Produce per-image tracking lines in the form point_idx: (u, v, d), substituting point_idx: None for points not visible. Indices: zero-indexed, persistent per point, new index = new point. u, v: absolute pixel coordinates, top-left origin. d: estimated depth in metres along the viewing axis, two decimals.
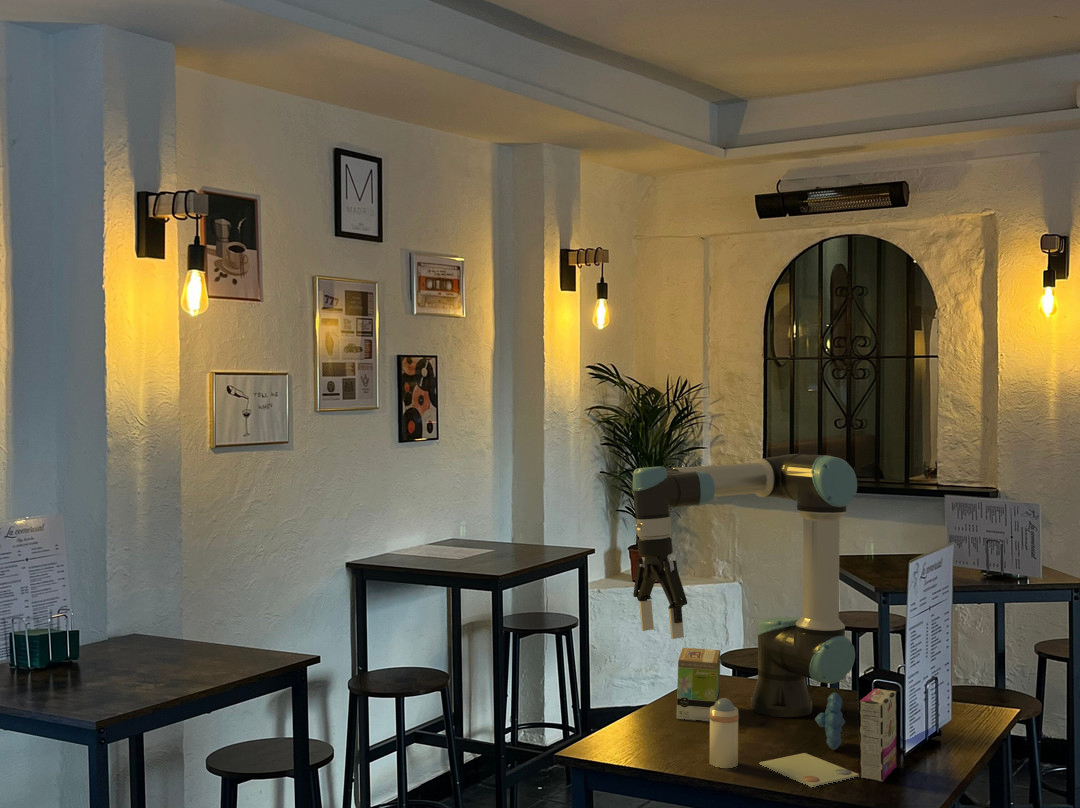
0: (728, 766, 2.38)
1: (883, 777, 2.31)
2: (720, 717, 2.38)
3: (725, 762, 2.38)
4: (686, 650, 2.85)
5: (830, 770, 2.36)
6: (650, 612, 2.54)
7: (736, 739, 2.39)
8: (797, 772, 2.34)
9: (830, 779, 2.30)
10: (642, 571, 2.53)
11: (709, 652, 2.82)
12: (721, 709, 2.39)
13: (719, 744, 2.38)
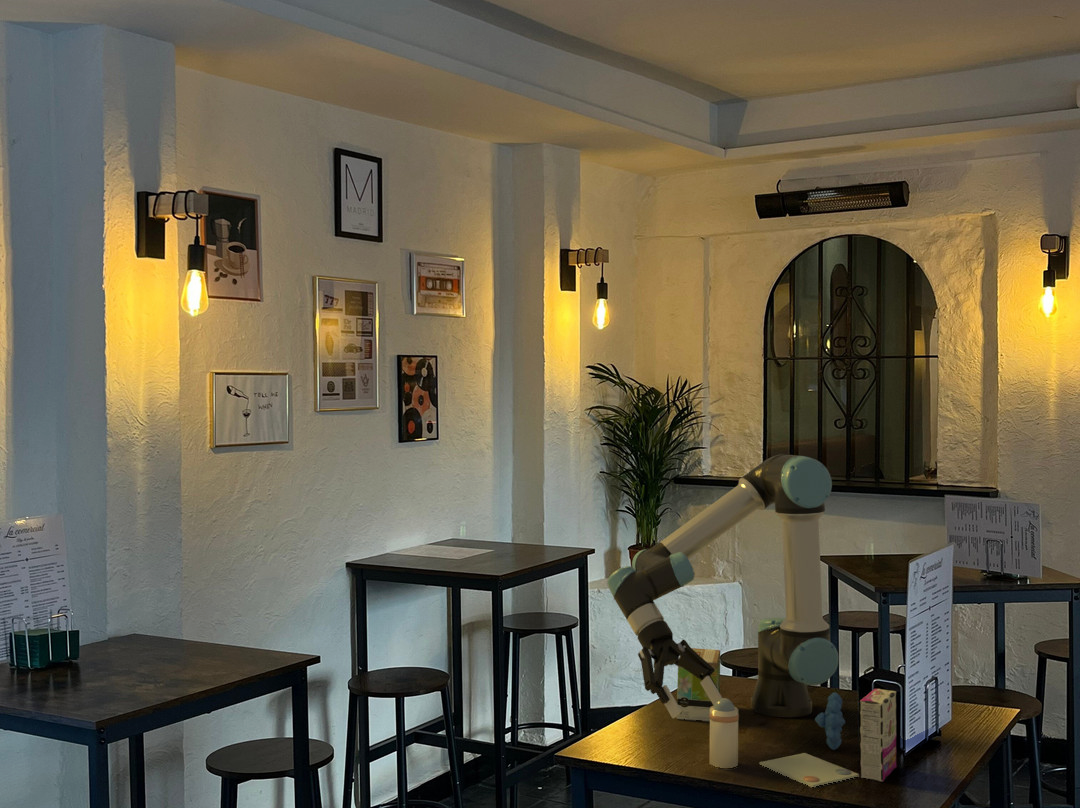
0: (728, 766, 2.38)
1: (883, 777, 2.31)
2: (720, 717, 2.38)
3: (725, 762, 2.38)
4: None
5: (830, 770, 2.36)
6: (711, 687, 2.51)
7: (736, 739, 2.39)
8: (797, 772, 2.34)
9: (830, 779, 2.30)
10: (685, 655, 2.56)
11: (709, 652, 2.82)
12: (721, 709, 2.39)
13: (719, 744, 2.38)
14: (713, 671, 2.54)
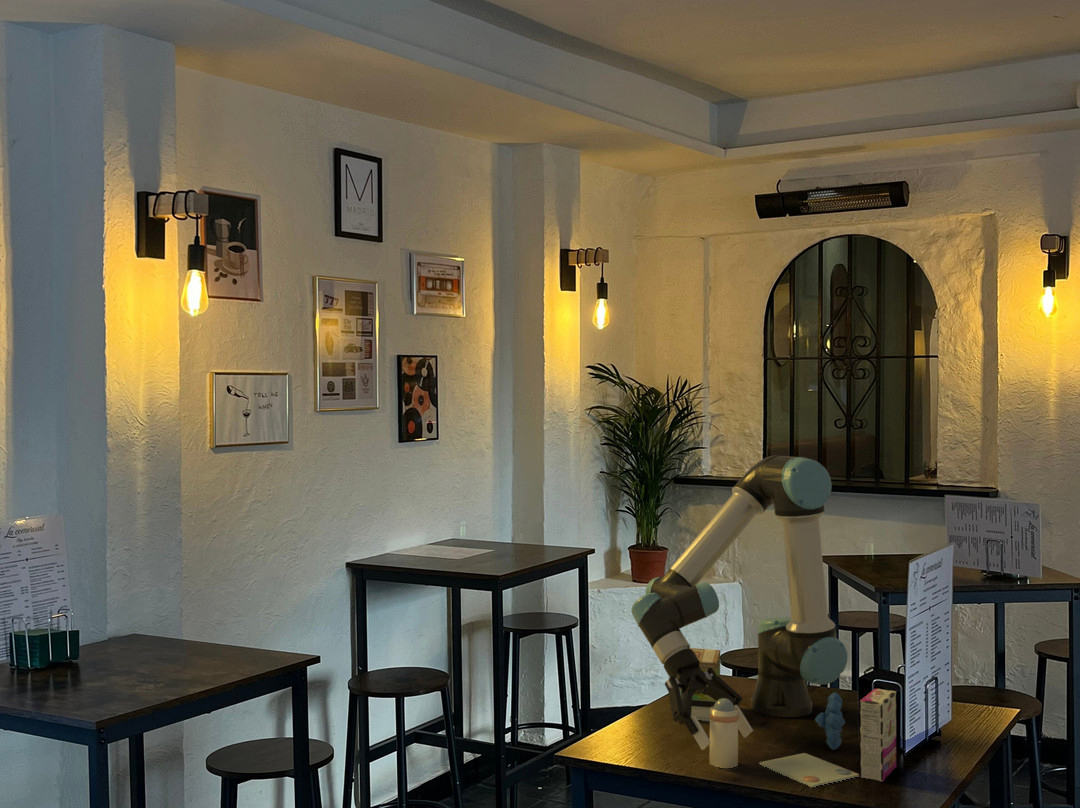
0: (728, 766, 2.38)
1: (883, 777, 2.31)
2: (720, 717, 2.38)
3: (725, 762, 2.38)
4: None
5: (830, 770, 2.36)
6: (740, 716, 2.45)
7: (736, 739, 2.39)
8: (797, 772, 2.34)
9: (830, 779, 2.30)
10: None
11: (709, 652, 2.82)
12: (721, 709, 2.39)
13: (719, 744, 2.38)
14: (741, 700, 2.49)
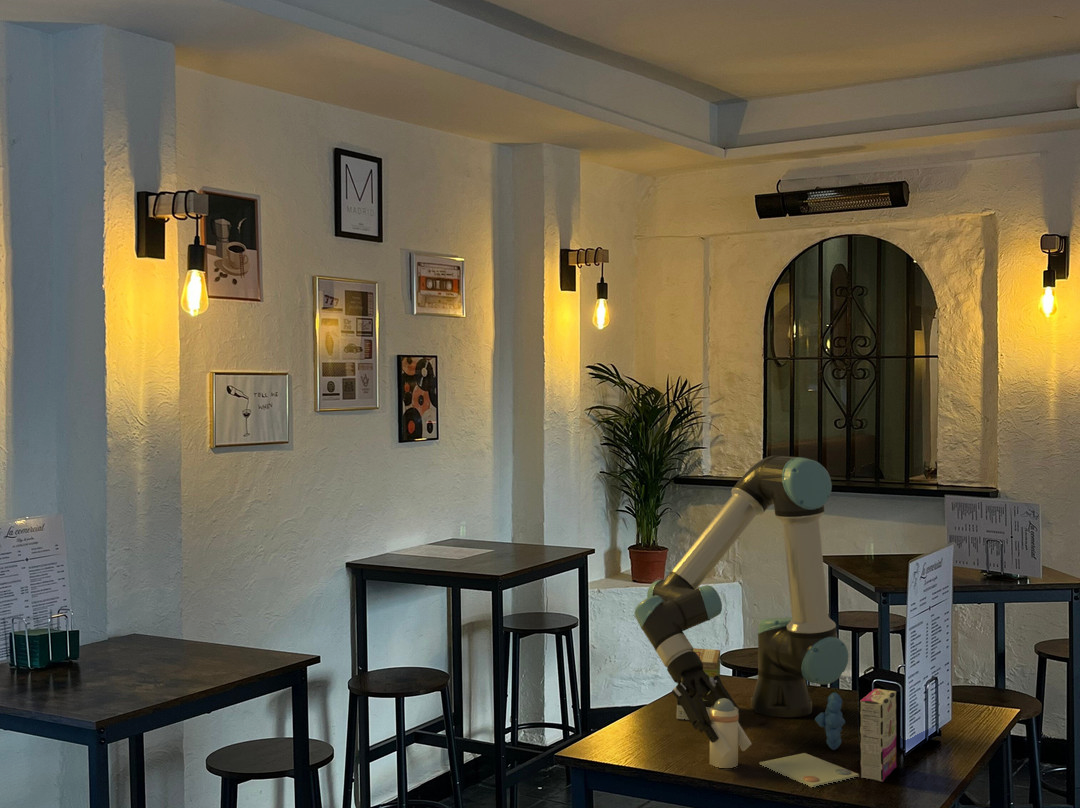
0: (728, 766, 2.38)
1: (883, 777, 2.31)
2: (720, 717, 2.38)
3: (725, 762, 2.38)
4: None
5: (830, 770, 2.36)
6: (738, 730, 2.42)
7: (736, 739, 2.39)
8: (797, 772, 2.34)
9: (830, 779, 2.30)
10: (715, 691, 2.49)
11: (709, 652, 2.82)
12: (721, 709, 2.39)
13: None
14: (739, 712, 2.45)
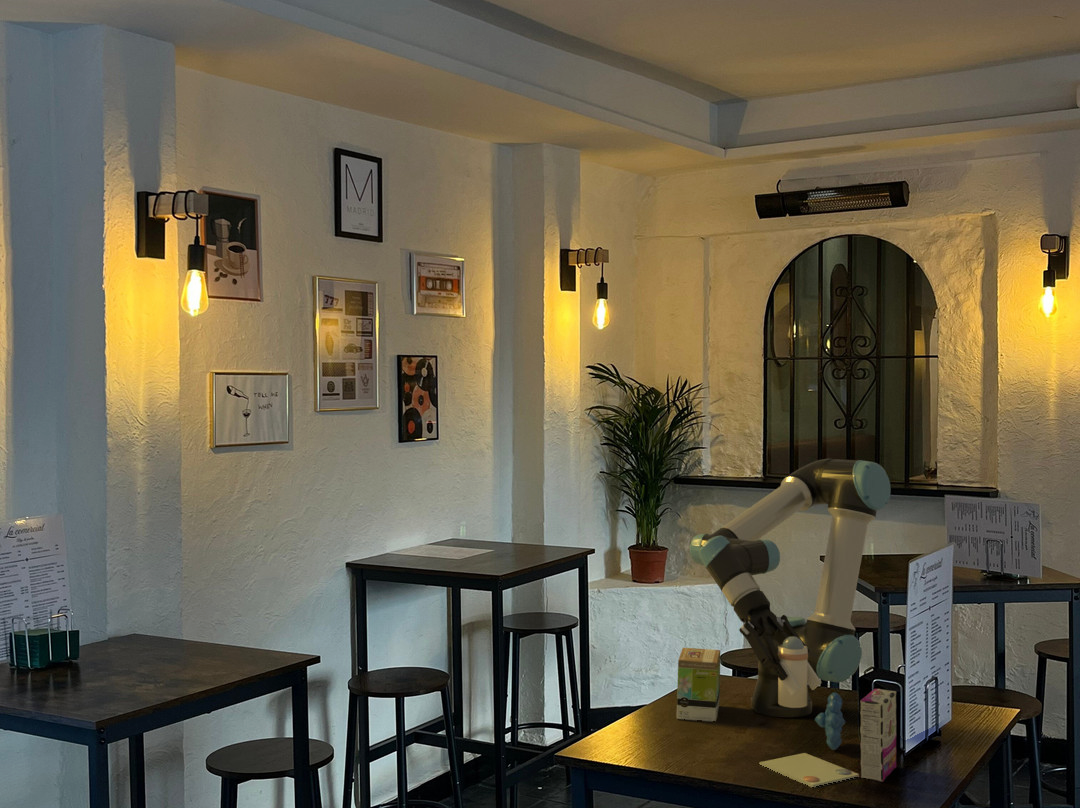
0: (798, 705, 2.34)
1: (883, 777, 2.31)
2: (789, 655, 2.34)
3: (795, 701, 2.34)
4: (686, 650, 2.85)
5: (830, 770, 2.36)
6: (807, 668, 2.38)
7: (805, 677, 2.35)
8: (797, 772, 2.34)
9: (830, 779, 2.30)
10: None
11: (709, 652, 2.82)
12: (790, 647, 2.35)
13: None
14: None
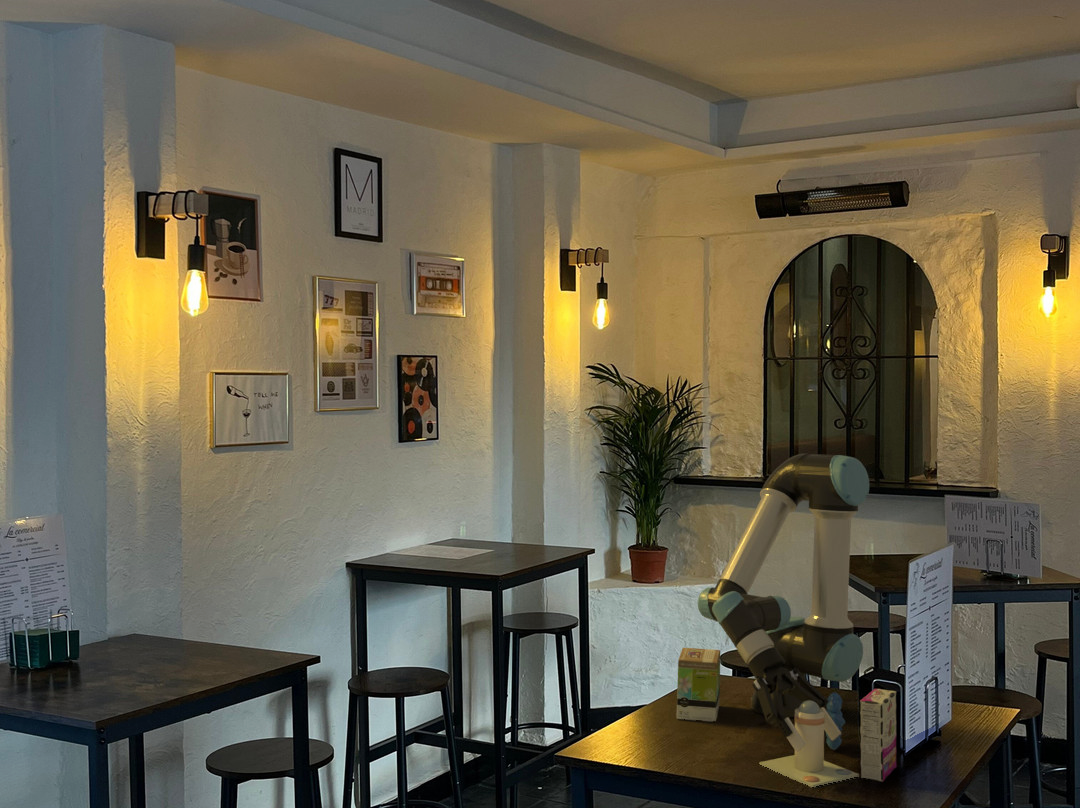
0: (815, 769, 2.35)
1: (883, 777, 2.31)
2: (807, 719, 2.35)
3: (812, 765, 2.35)
4: (686, 650, 2.85)
5: (830, 770, 2.36)
6: (827, 719, 2.40)
7: (822, 742, 2.36)
8: (797, 772, 2.34)
9: (830, 779, 2.30)
10: None
11: (709, 652, 2.82)
12: (807, 711, 2.35)
13: (805, 747, 2.35)
14: (827, 702, 2.44)
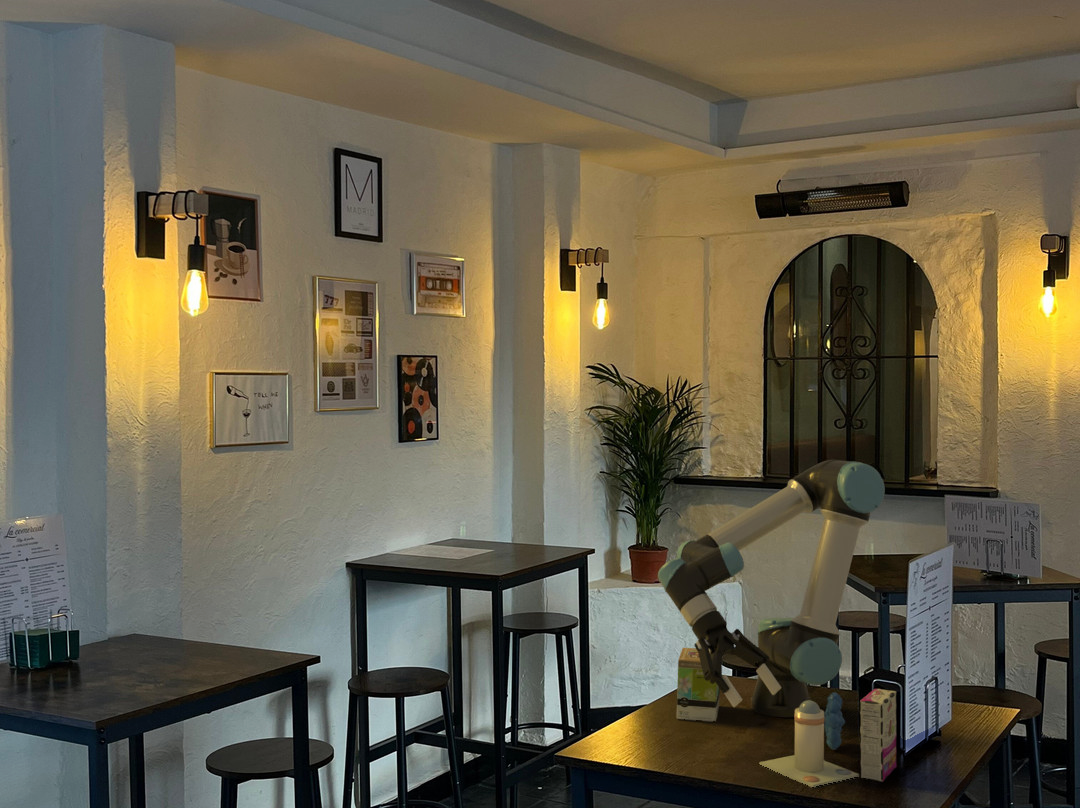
0: (815, 769, 2.35)
1: (883, 777, 2.31)
2: (806, 719, 2.35)
3: (812, 765, 2.35)
4: (686, 650, 2.85)
5: (830, 770, 2.36)
6: (768, 675, 2.52)
7: (822, 742, 2.36)
8: (797, 772, 2.34)
9: (830, 779, 2.30)
10: None
11: None
12: (807, 711, 2.35)
13: (805, 747, 2.35)
14: (768, 659, 2.56)
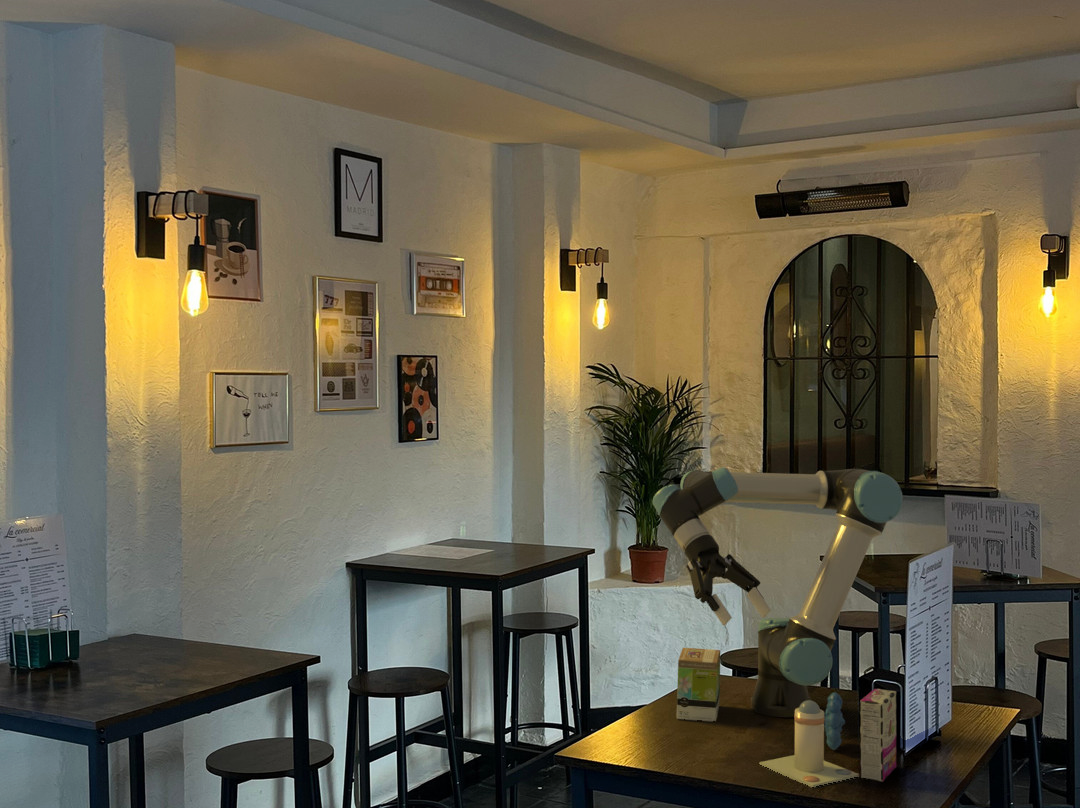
0: (815, 769, 2.35)
1: (883, 777, 2.31)
2: (806, 719, 2.35)
3: (812, 765, 2.35)
4: (686, 650, 2.85)
5: (830, 770, 2.36)
6: (758, 598, 2.56)
7: (822, 742, 2.36)
8: (797, 772, 2.34)
9: (830, 779, 2.30)
10: None
11: (709, 652, 2.82)
12: (807, 711, 2.35)
13: (805, 747, 2.35)
14: (759, 583, 2.60)
